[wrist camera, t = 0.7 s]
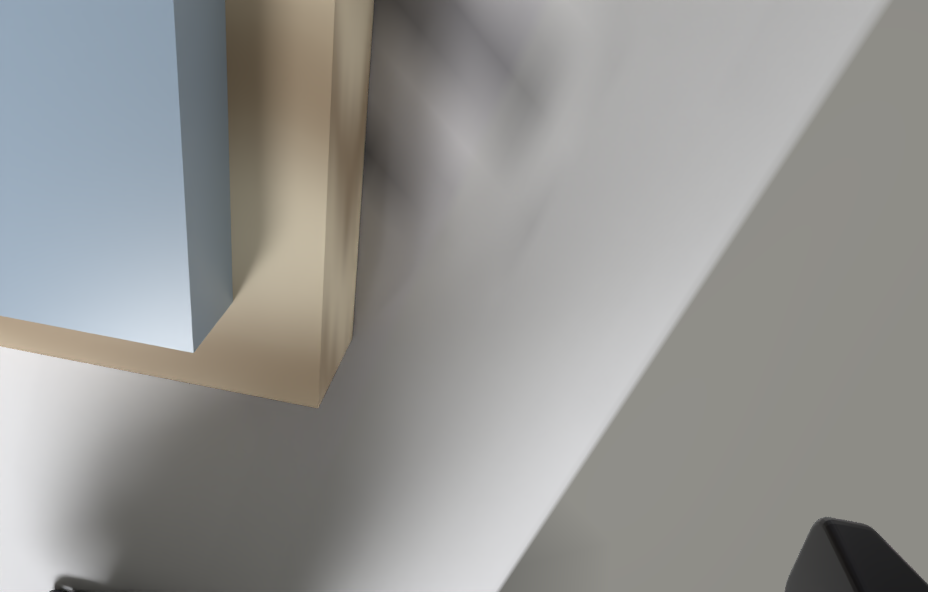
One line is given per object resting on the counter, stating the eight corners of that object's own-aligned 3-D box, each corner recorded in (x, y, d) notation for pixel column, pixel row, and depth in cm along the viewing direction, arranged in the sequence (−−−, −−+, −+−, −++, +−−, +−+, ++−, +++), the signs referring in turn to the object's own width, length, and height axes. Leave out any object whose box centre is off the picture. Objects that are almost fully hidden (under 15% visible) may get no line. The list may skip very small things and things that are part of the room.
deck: (352, 338, 22) (318, 408, 19) (-76, 257, 22) (-164, 313, 20) (394, -317, 14) (348, -346, 12) (-239, -404, 15) (-412, -450, 13)
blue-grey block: (232, 301, 18) (193, 353, 16) (-27, 253, 18) (-92, 297, 17) (220, -169, 13) (163, -167, 12) (-128, -222, 14) (-232, -227, 12)
